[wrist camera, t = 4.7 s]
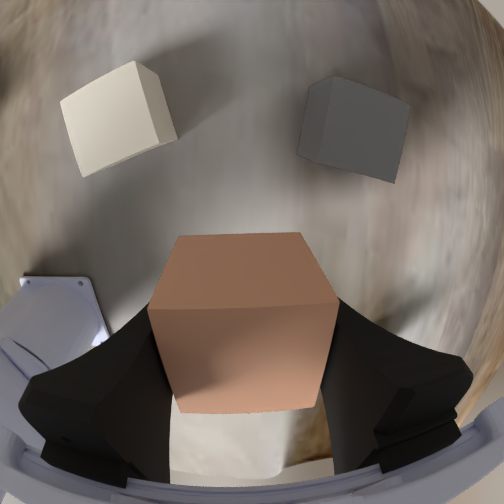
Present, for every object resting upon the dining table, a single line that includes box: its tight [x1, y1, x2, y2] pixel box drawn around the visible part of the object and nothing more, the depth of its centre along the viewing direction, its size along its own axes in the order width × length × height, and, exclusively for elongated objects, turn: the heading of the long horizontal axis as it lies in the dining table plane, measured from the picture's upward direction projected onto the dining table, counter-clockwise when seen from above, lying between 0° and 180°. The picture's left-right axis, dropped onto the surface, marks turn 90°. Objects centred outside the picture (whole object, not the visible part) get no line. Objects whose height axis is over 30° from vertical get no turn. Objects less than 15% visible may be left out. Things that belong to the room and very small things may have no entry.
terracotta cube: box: [147, 232, 340, 414], centre depth 10 cm, size 5×5×5 cm
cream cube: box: [60, 60, 178, 178], centre depth 14 cm, size 5×5×5 cm
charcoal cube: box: [297, 75, 411, 183], centre depth 15 cm, size 5×5×5 cm
